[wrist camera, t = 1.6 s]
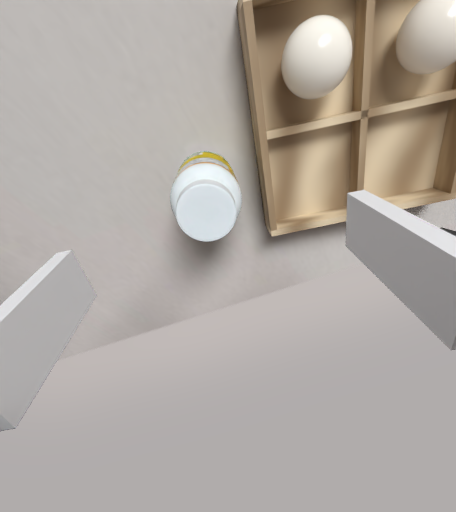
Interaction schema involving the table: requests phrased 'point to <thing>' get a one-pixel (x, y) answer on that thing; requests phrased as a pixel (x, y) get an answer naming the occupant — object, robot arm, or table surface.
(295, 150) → the wooden compartment tray
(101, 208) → the table surface
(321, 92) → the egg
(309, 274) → the table surface
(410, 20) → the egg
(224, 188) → the supplement bottle
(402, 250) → the robot arm
